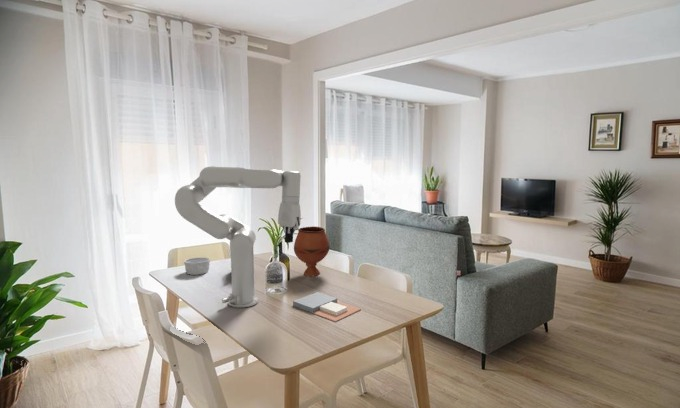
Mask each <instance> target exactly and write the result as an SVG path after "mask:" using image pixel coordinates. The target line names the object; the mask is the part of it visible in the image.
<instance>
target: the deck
mask: <svg viewBox="0 0 680 408" xmlns="http://www.w3.org/2000/svg"><path fill="white" fill-rule="evenodd" d="M329 302H334V303H338V298H337V297H335V296H331V295H328V294H325V293H322V292H319V291H316V292H314V293H312V294H308V295H306V296H302V297H300V298H297V299H295V300H293V301H292V306H293V307H296V308H298V309H302V310H304V311H307V312H309V313H312V314H313V313H314V312H316V311H319V310H320V306H322V305H324V304H327V303H329Z"/></svg>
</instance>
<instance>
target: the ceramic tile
mask: <svg viewBox="0 0 680 408" xmlns="http://www.w3.org/2000/svg"><path fill="white" fill-rule="evenodd" d="M337 303H338V302H337ZM337 303H334V302H329V303H327V304H324V305H322V306H320V310H322V311H324V312H327V313H330V314H333V315H336V316H337V315H339V314H341V313H343V312H345V311H347V308H348V307H346V306H343V305H340V304H337Z"/></svg>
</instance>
